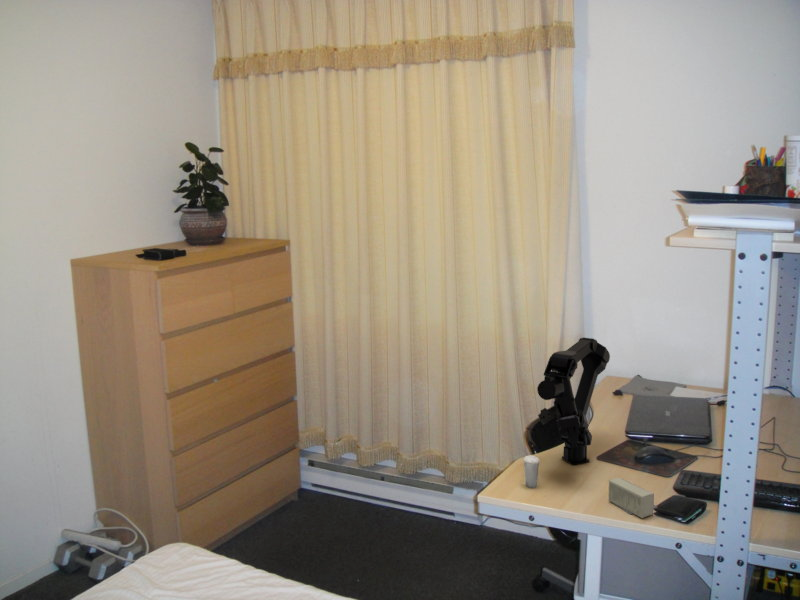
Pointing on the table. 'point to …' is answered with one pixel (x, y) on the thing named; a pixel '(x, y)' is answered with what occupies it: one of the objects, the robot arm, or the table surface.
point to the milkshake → (531, 470)
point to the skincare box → (631, 497)
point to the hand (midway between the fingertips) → (574, 447)
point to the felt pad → (629, 511)
